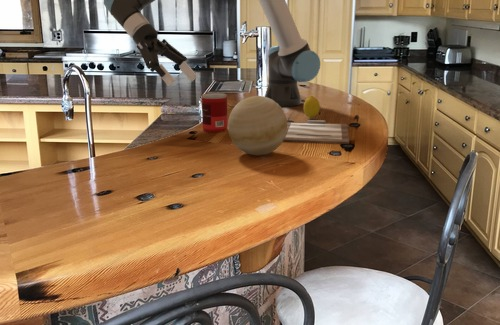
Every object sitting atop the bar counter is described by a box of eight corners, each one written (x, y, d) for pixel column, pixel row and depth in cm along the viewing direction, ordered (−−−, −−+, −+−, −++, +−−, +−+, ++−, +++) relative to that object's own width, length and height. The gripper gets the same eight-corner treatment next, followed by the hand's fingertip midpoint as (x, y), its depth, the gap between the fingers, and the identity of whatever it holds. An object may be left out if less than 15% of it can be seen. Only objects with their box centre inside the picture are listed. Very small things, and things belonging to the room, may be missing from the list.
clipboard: (285, 123, 173) (285, 119, 172) (347, 125, 170) (347, 121, 170) (277, 141, 148) (277, 136, 148) (349, 143, 145) (349, 138, 145)
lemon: (318, 120, 178) (319, 97, 176) (302, 120, 179) (302, 96, 177) (319, 117, 183) (320, 95, 181) (304, 117, 184) (304, 94, 182)
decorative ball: (298, 156, 132) (300, 97, 128) (248, 165, 124) (248, 102, 120) (265, 145, 144) (265, 90, 140) (217, 152, 136) (216, 94, 132)
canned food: (231, 128, 166) (230, 93, 163) (221, 133, 159) (221, 97, 156) (208, 126, 168) (208, 92, 166) (198, 131, 161) (197, 96, 158)
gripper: (156, 38, 178) (196, 84, 177) (109, 41, 156) (154, 94, 155) (169, 22, 175) (209, 69, 173) (123, 22, 153) (169, 76, 151)
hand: (183, 81), depth 164 cm, fingers open, 13 cm apart
